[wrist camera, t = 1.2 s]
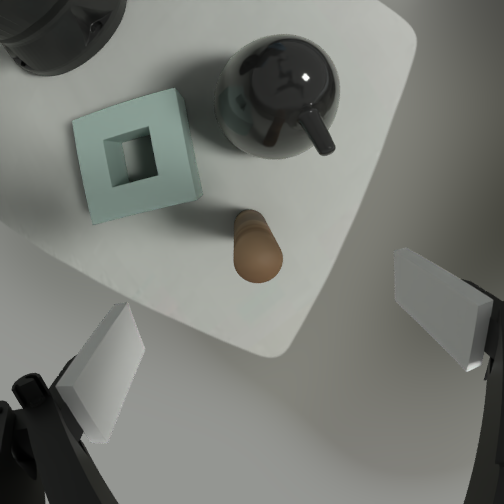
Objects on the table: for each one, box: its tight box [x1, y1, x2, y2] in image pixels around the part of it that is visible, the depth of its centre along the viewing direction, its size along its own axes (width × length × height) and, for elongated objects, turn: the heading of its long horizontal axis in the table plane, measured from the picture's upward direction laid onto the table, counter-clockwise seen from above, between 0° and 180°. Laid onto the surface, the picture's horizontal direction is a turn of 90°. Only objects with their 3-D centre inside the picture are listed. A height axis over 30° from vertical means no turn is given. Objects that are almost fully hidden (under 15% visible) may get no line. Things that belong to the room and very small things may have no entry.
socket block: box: [72, 88, 203, 225], centre depth 28 cm, size 10×10×5 cm
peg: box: [234, 210, 283, 283], centre depth 27 cm, size 3×3×12 cm
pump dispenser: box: [214, 34, 340, 160], centre depth 22 cm, size 10×10×15 cm
